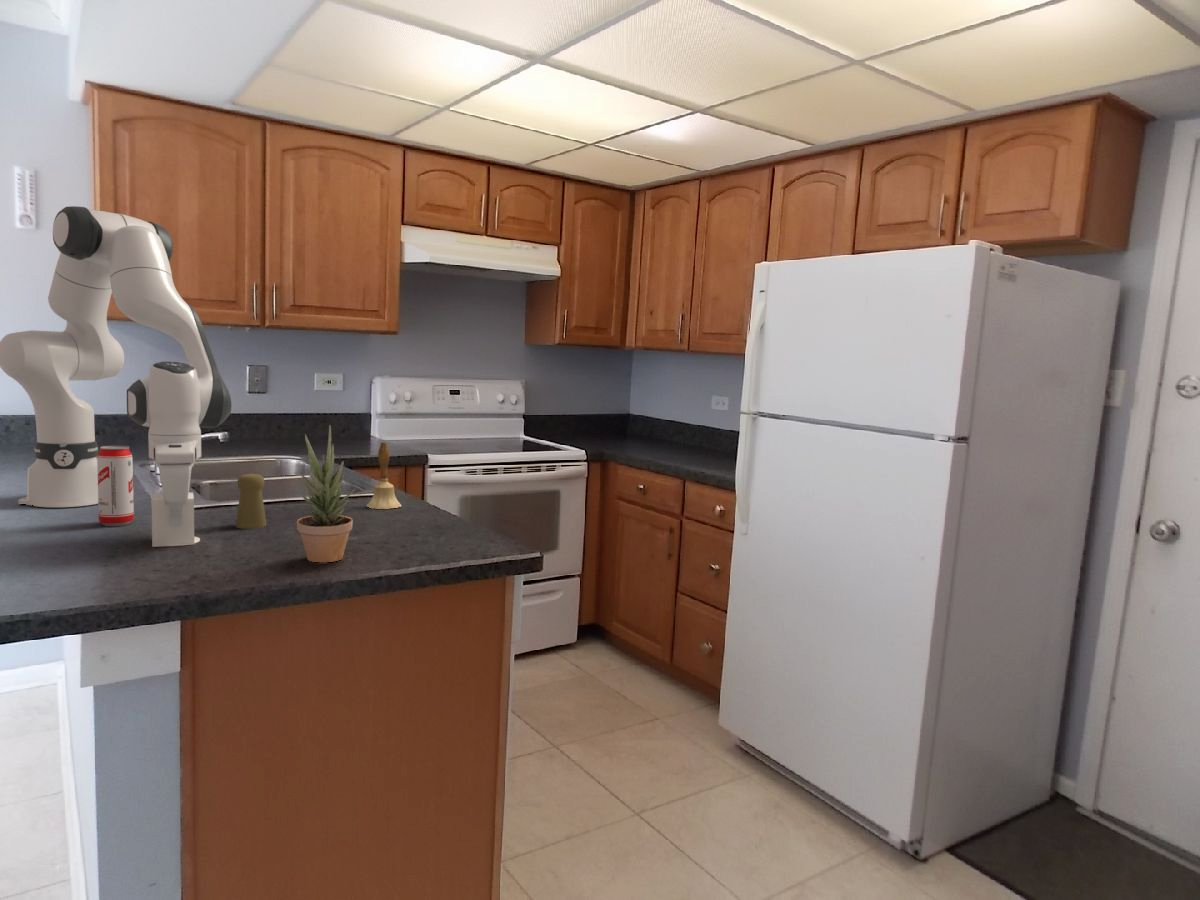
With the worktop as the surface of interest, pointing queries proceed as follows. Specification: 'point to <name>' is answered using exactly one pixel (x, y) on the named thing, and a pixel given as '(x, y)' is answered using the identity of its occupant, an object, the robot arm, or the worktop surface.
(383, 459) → the hand bell
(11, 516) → the worktop surface
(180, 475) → the robot arm
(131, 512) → the beer can
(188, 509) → the cream cube
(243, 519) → the cork
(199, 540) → the cream domed disc
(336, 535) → the potted plant
